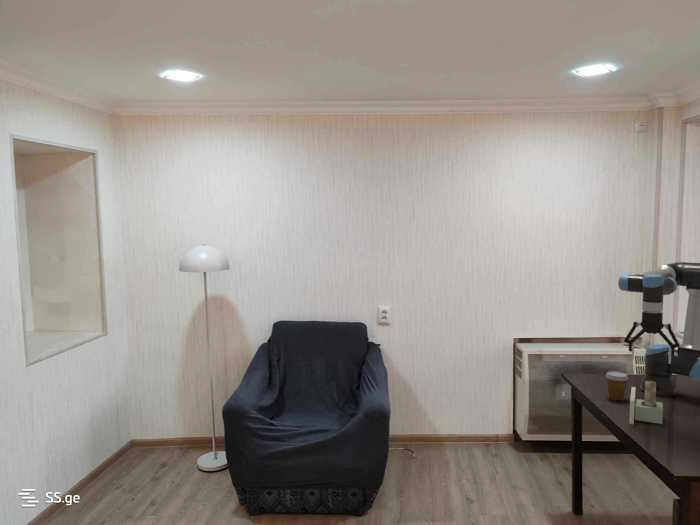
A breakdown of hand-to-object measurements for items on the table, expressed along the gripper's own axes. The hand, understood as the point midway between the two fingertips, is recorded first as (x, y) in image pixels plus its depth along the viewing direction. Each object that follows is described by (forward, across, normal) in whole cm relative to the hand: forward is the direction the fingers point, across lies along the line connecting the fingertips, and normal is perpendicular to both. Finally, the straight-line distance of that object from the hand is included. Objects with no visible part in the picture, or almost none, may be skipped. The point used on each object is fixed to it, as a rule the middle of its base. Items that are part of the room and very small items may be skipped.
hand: (650, 360), depth 222 cm
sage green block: (+25, 0, 0) cm, 25 cm away
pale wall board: (+25, +6, 0) cm, 26 cm away
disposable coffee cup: (+26, +14, -21) cm, 36 cm away
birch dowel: (+25, 0, 0) cm, 25 cm away
